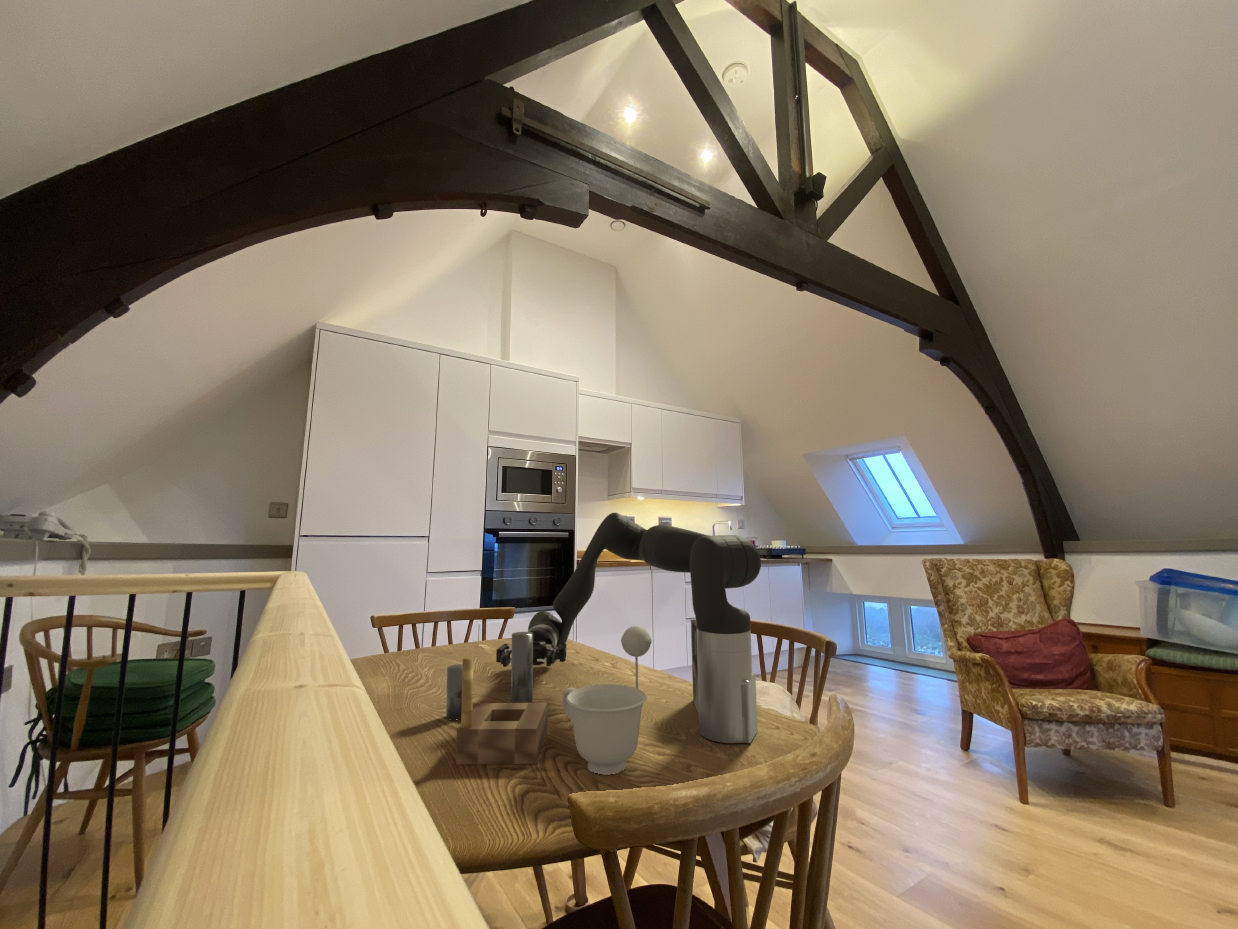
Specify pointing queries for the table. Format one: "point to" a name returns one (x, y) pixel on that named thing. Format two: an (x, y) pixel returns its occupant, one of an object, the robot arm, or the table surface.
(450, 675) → the short pin
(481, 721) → the hole block
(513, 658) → the long pin
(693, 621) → the coffee box
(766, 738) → the table surface
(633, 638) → the lollipop
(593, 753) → the teacup
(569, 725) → the table surface
